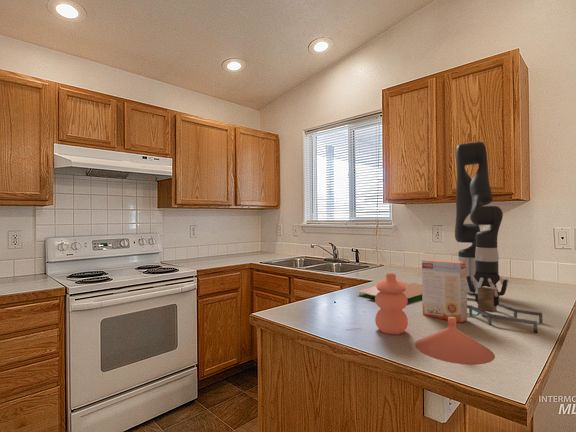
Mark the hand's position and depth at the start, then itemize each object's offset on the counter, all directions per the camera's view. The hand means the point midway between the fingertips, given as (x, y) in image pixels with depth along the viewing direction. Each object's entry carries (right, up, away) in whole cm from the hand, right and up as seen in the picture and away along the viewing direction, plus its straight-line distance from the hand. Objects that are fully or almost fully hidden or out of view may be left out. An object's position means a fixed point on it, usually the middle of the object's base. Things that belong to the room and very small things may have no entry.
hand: (487, 304), depth 130 cm
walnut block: (0, -2, 0) cm, 2 cm away
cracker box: (-18, -4, -4) cm, 18 cm away
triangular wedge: (-25, -5, +30) cm, 39 cm away
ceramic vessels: (-34, -4, -29) cm, 45 cm away
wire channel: (-1, -4, -3) cm, 5 cm away
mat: (-5, -4, +6) cm, 9 cm away
